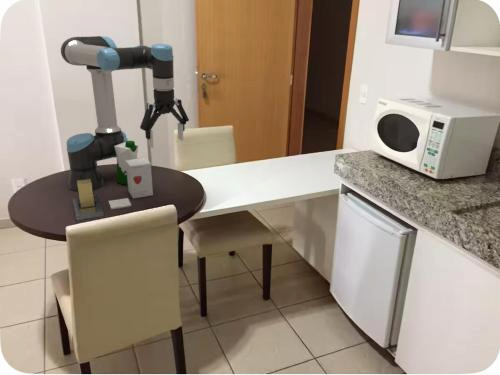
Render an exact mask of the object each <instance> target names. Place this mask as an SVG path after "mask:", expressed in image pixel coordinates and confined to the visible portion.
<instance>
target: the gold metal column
mask: <svg viewBox="0 0 500 375" xmlns="http://www.w3.org/2000/svg"><path fill="white" fill-rule="evenodd" d="M77 185H78V191H77V192H78V198H80V205H81V208H80V209H85V208H92V207H96V205H94V198H93V196H94V193H93V190H94V189H93V190H92V183H91V180H90V179H86V180H78V181H77Z"/></svg>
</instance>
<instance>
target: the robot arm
mask: <svg viewBox="0 0 500 375" xmlns="http://www.w3.org/2000/svg"><path fill="white" fill-rule="evenodd" d="M173 51H174V50H173V47H172V46H171V45H170V44H166V43H154V44H152V45H151V47H150V46H147V45H141V44H140V45H136V46H132V47H131V46H130V47H117V45H116V43H115V41H114V40H113V39H112V38H111V37H108V36H103V35H98V36H97V35H96V36H73V37H69V38H67V39H66V40H64V42H63V43H62V44H61V47H60V55H61V57H62V59H63V60H64V62H66V63H67V64H69V65H71V66H79V67H80V66H81V67H82V66H85V67H86V70H87V71H88V72H89V73H90V75H91V77H90V78H91V83H92V90H93V91H92V92H93V100H94V105H95V106H94V108H95V115H96V122H97V127H95V128H96V129H94V134H92V133H90V132H84V133H78V134H75V135H71V136H70V137H69V138H68V139H67V140H66V152H67V157H68V163H69V169H70V170H69V176H68V182H67V183H68V184H67V185H68V189H69V190H71V191H75V192H79V191H78V185H77V181H78V180H86V179H90V180H91V183H92V190H96V189H98V188H101V187H103V186H104V178H103V176H102V174H101V172H100V170H99V167H98V162H100V161H104V160H105V161H106V160H109V159H112V158H117V156H116V151H115V147H114V146H116V145H118V144H121V143H124V142H126V141H129V140H128V137H127V134H126V133H125V132H124V131H123V130H122V128H121V127H120V126H119V125H118V120H117V112H116V110H117V109H116V103H115V93H114V84H113V77H112V76H113V74H112V72H115V71H120V70H121V71H122V70H137V69H149V70H151V71H152V86H153V87H152V89H153V88H154V89H153V90H152V91H153V100H154V102H153V103H149V102H148V103H146V109H145V112H144V115H143V118H142V122H141V124H140V126H139V128H140V129H141V130H143V131H144V132H145V138H146V139H147V146H148V147H150V148H151V149H153V148H154V147H155V146H154V134H153V132H154V131H153V130H152V129H153V127H154V125H155V124H156V122H157V120H159V117H161V115H165V114H170V113H171V114H172V115H173V117H174V118H175V119H176V120H177V121H178V122H177V139H178V140H180V141H184V132H185V129H186V126H185V125H186V124H187V122H189V120H190V119H189V117H188V115H187V113H186V111H185V109H184V106H183V105H182V104H183V103H182V99H179V98H175V89H174V87H175V81H174V80H175V79H174V78H175V76H174V54H173V53H174V52H173ZM175 107H176V108H177V110H178V111H177V110H176V108H175ZM178 112H179V113H178Z"/></svg>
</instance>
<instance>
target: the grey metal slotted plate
mask: <svg viewBox="0 0 500 375" xmlns="http://www.w3.org/2000/svg"><path fill="white" fill-rule="evenodd" d="M93 198H94V205H95V207H92V208H85V209H81V205H80V198H79V197H76V198H72V204H73V210H74V214H75V220H76V221H82V220H89V219H95V218H102V217H104V215H105V214H104V210H103V207H102V203H101V200H100V197H99V195H98V194H97V195H93Z"/></svg>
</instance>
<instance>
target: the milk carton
mask: <svg viewBox="0 0 500 375" xmlns="http://www.w3.org/2000/svg"><path fill="white" fill-rule="evenodd" d="M114 147H115V151H116V156H117V157H116V183H118V184H122V185H126V186H128V181H127V170H126V160H132V159H138V153H139V152H138V151H139V144H137V143H136V142H135V141H134V140H128V141H126V142H124V143H121V144H118V145H116V146H114Z"/></svg>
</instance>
